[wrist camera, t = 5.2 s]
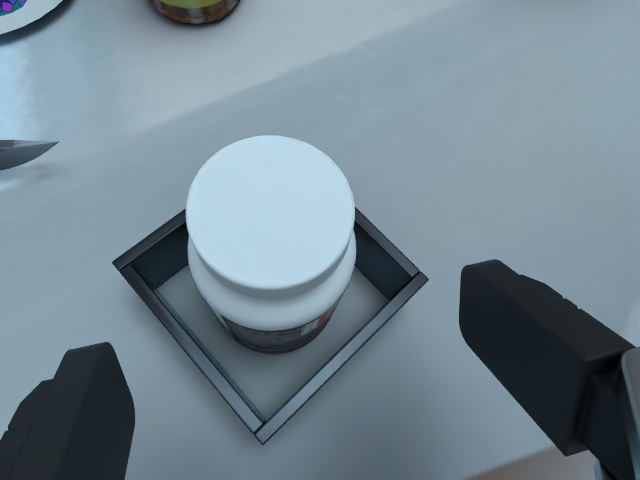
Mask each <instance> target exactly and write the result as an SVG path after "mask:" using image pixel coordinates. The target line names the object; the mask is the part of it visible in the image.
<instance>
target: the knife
mask: <svg viewBox="0 0 640 480" xmlns="http://www.w3.org/2000/svg"><path fill="white" fill-rule="evenodd" d="M58 142H59V141H57V142H47V141H23V140H0V171H1V170H5V169H9V168H12V167H16V166H19V165H22V164H24V163H27V162H29V161H31V160H33V159H35V158H37V157H39V156H40V155H42V154H43V153H45V152H46V151H48V150H49V149H50V148H52V147H53V146H54V145H55V144H57V143H58Z"/></svg>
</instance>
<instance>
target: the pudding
mask: <svg viewBox="0 0 640 480" xmlns="http://www.w3.org/2000/svg"><path fill="white" fill-rule="evenodd" d="M61 1H62V0H0V34H4V33H6V32H9V31H12V30H15V29H18V28H20V27H23V26H25V25H27V24H29V23H31V22H33V21H35V20H37V19H39V18H41V17H42V16H43V15H45V14H46V13H48V12H49V11H51V10H52V9H54V8H55V7H56V6H57V5H58V4H59V3H60V2H61Z"/></svg>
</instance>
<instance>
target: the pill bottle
mask: <svg viewBox="0 0 640 480" xmlns="http://www.w3.org/2000/svg"><path fill="white" fill-rule="evenodd" d="M354 221H355V204H354V199H353V195H352V191H351V188H350V186H349V183H348V181H347V179H346V178H345V176H344V174H343V173H342V171H341V170H340V168H339V167H338V166H337V165H336V164H335V162H333V161H332V160H331V159H330V158H329V157H328V156H327V155H326V154H325V153H323V152H322V151H320V150H319V149H317V148H315V147H314V146H312V145H310V144H308V143H306V142H303V141H300V140H297V139H293V138H289V137H284V136H276V135H266V136H256V137H250V138H246V139H243V140H240V141H237V142H234V143H232V144H230V145H228V146H226V147H224V148H223V149H221V150H220V151H218V152H217V153H216V154H214V155H213V156H212V157H211V158H210V159H208V160H207V162H206V163H205V164H204V165H203V166H202V167H201V169H200V170H199V171H198V173H197V175H196V176H195V178H194V180H193V182H192V184H191V187H190V189H189V193H188V197H187V202H186V225H187V229H188V233H189V239H188V261H189V267H190V270H191V274H192V277H193V280H194V282H195V284H196V286H197V288H198V290H199V292H200V294H201V295H202V297H203V298H204V300H205V301H206V303H207V304H208V305H209V307H210V308H211V309H212V311H213V312H214V314H215V315H216V317H217V318H218V320H219V321H220V323H221V324H222V326H223V327H224V328H225V329H226V331H227V332H228V333H229V334H230V335H231V336H232V337H233V338H234V339H235V340H237V341H238V342H239V343H241V344H242V345H244V346H246V347H248V348H250V349H253V350H256V351H259V352H264V353H284V352H289V351H292V350H295V349H298V348H300V347H302V346H304V345H306V344H307V343H309V342H310V341H311V340H313V339H314V338H315V337H316V336H317V335H318V334H319V333H320V332H321V331H322V330H323V329H324V327H325V326H326V324H327V323H328V321H329V320H330V317H331V315H332V313H333V312H334V310H335V308H336V306H337V304H338V302H339V301H340V299H341V297H342V295H343V293H344V291H345V290H346V288H347V286H348V283H349V281H350V278H351V276H352V273H353V269H354V265H355V260H356V240H355V234H354V230H353V227H354Z"/></svg>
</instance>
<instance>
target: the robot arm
mask: <svg viewBox="0 0 640 480" xmlns="http://www.w3.org/2000/svg"><path fill="white" fill-rule="evenodd" d="M459 325H460V330H461V333H462V336H463V338H464V340H465V342H466V343H467V345H468V346H469V347H470V348H471V349H472V351H473V352H474V353H475V354H476V355H477V356H478V357H479V358H480V360H481V361H482V362H483V363H484V364H485V365H486V366H487V368H488V369H489V370H490V371H491V372H492V373H493V374H494V376H495V377H496V378H497V379H498V380H499V381H500V382H501V384H502V385H503V386H504V387H505V388H506V389H507V390H508V392H509V393H510V394H511V395H512V396H513V397H514V398H515V400H516V401H517V402H518V403H519V404H520V405H521V406H522V408H523V409H524V410H525V411H526V412H527V413H528V414H529V416H530V417H531V418H532V419H533V420H534V421H535V422H536V424H537V425H538V426H539V427H540V428H541V429H542V430H543V432H544V433H545V434H546V435H547V436H548V437H549V438H550V439H551V441H552V442H553V443H554V444H555V445H556V446H557V447H558V449H559V450H560V451H561V452H562V453H563V454H564V455H565V456H569V455H573V454H576V453H579V452H582V451H585V450H590V451H591V453H592V454H593V455H594V456H595V457H596V458H597V459H596V462H595V466H594V474H595V480H640V347H635V346H634V345H632V344H631V343H629V342H628V341H626V340H625V339H624V338H622V337H621V336H619V335H618V334H616V333H615V332H614V331H612V330H611V329H609V328H608V327H606V326H605V325H604V324H602V323H601V322H599V321H598V320H596V319H595V318H593V317H592V316H591V315H589V314H588V313H586V312H585V311H583V310H582V309H578V308H577V306H576V305H575V304H573V303H572V302H571V301H569V300H568V299H566V298H565V299H563V297H562V295H560V294H559V293H558V292H556V291H555V290H553V289H552V288H550V287H549V286H548V285H546V284H545V283H542V282H540V281H537V280H534V279H532V278H529V277H527V276H524V275H519V274H517V273H516V272H515V271H513V270H512V269H510V268H509V267H508V266H506V265H505V264H504V263H502V262H501V261H499V260H496V259H494V260H489V261H485V262H480V263H475V264H471V265H466V266H465V267H464V268H463V269H462V272H461V284H460V306H459ZM134 427H135V409H134V403H133V398H132V395H131V393H130V390H129V387H128V385H127V382H126V380H125V377H124V374H123V372H122V369H121V366H120V364H119V361H118V359H117V356H116V353H115V351H114V348H113V347H112V345H111V344H110V343H109V342H104V343H99V344H94V345H90V346H85V347H80V348H76V349H71V350H68V351H67V352H66V353H65V355H64V357H63V359H62V361H61V363H60V365H59V367H58V370H57V372H56V374H55V376H54V378H53V379H50V380H46V381H42V382H41V383H40V384H39V385H38V386H37V387H36V388H35V389H34V390H33V391H32V392H31V393H30V394H29V395H28V396H27V397H26V398H25V399H24V400H23V401H22V402H21V403H20V404H19V406H18V408H17V410H16V412H15V414H14V416H13V418H12V420H11V421H10V423H9V425H8V431H5V433H4V435H3V437H2V438H1V440H0V480H124V479H125V474H126V469H127V463H128V458H129V453H130V448H131V443H132V438H133V433H134Z"/></svg>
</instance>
